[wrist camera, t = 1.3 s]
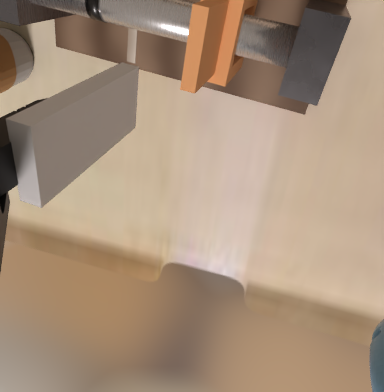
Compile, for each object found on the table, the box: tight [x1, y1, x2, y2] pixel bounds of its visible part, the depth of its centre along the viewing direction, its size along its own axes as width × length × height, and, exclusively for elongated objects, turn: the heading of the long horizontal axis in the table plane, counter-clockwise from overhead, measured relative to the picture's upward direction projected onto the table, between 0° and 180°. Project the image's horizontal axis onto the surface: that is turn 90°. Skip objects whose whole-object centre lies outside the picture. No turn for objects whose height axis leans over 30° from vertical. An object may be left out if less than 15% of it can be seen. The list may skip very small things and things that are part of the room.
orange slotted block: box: [180, 0, 258, 93], centre depth 26 cm, size 3×6×11 cm, turn 172°
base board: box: [55, 0, 347, 114], centre depth 34 cm, size 29×14×2 cm, turn 81°
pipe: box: [0, 0, 351, 105], centre depth 30 cm, size 29×6×9 cm, turn 81°
